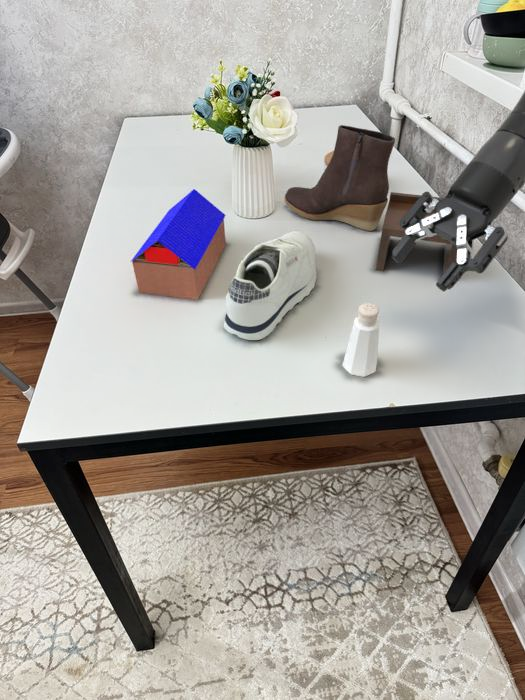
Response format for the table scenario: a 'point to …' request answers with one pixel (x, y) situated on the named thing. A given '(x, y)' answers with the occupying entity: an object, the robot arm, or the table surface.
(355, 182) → the boot
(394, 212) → the shelf
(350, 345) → the salt shaker
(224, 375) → the table surface
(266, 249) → the running shoe
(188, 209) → the house
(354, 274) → the table surface
